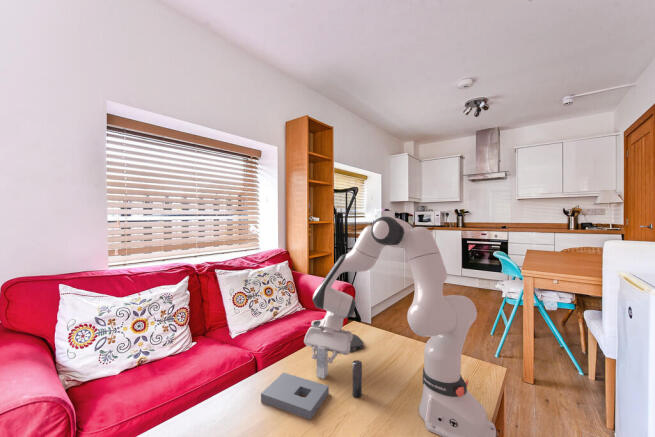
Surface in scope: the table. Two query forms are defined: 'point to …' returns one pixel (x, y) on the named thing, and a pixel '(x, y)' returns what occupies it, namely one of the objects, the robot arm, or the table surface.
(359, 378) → the round bit
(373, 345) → the table surface
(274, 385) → the socket board
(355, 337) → the media streaming box
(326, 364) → the square bit
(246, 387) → the table surface
